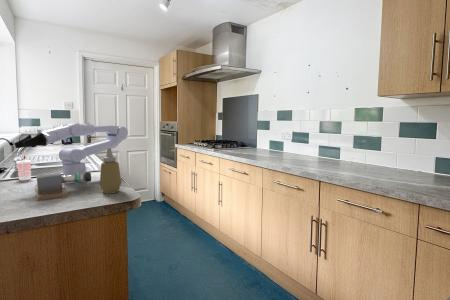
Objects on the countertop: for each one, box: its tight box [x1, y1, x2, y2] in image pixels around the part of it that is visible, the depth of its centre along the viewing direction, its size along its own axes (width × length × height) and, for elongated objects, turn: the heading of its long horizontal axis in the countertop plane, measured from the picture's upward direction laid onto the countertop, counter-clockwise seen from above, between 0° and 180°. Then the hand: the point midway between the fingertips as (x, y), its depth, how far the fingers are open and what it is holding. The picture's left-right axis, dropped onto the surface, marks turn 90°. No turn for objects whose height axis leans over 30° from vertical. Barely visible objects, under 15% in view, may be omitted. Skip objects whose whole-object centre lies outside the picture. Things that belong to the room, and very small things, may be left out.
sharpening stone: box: [35, 172, 69, 202], centre depth 109 cm, size 10×22×7 cm, turn 37°
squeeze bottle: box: [99, 148, 122, 194], centre depth 109 cm, size 8×8×18 cm
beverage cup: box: [15, 150, 32, 181], centre depth 133 cm, size 6×6×14 cm
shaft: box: [62, 171, 92, 185], centre depth 113 cm, size 15×5×5 cm, turn 127°
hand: (19, 145), depth 108 cm, fingers open, 7 cm apart
